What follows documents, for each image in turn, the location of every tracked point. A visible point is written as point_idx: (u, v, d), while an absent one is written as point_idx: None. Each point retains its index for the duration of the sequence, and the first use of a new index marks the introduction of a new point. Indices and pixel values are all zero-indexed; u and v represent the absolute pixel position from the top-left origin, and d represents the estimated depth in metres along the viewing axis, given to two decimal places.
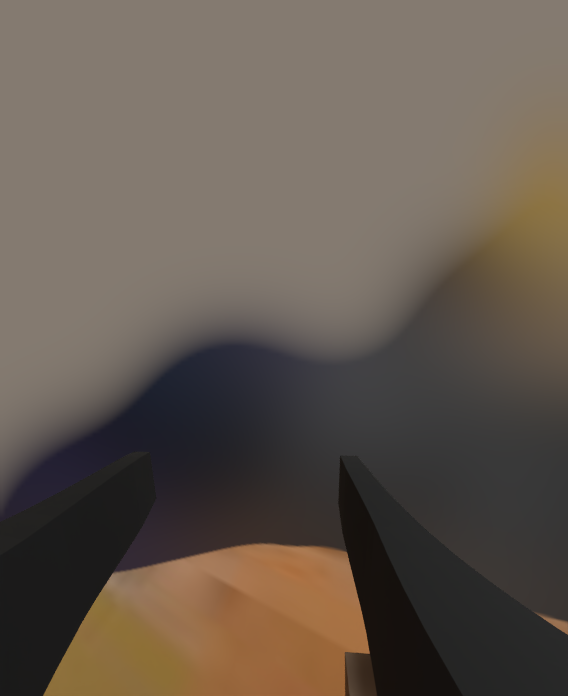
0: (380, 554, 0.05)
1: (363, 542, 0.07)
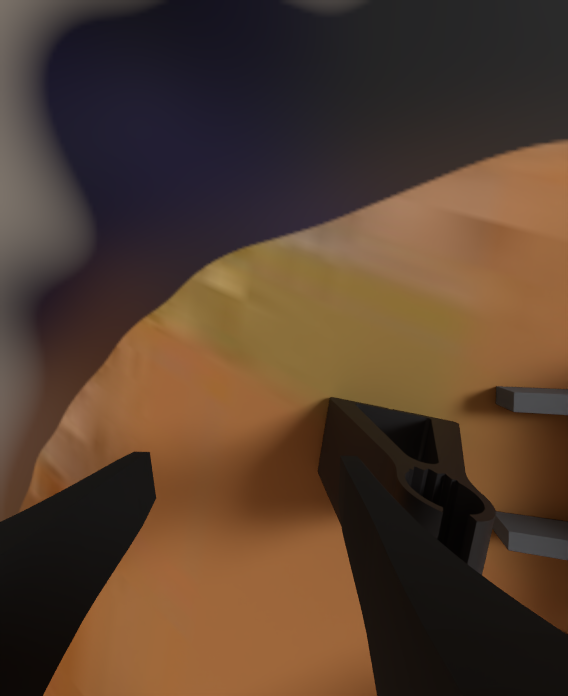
0: (380, 554, 0.05)
1: (363, 542, 0.07)
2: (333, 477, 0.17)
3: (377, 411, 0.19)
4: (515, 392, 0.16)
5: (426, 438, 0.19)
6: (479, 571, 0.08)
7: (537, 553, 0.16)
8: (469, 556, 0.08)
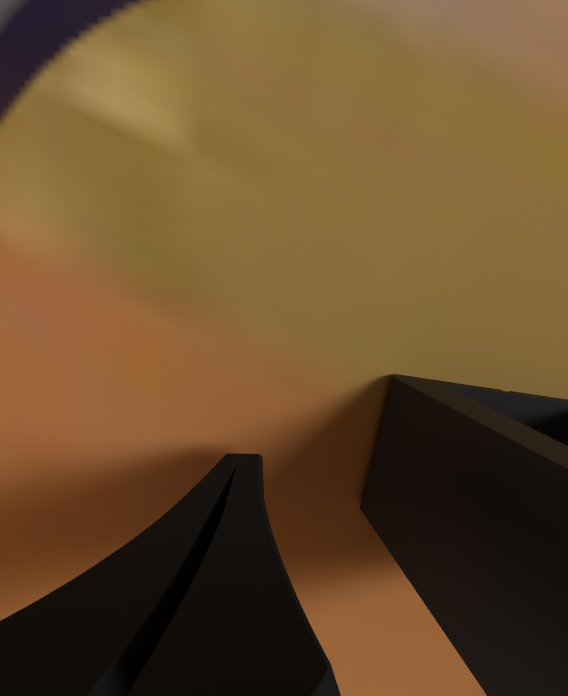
0: None
1: None
2: (433, 557, 0.08)
3: (485, 398, 0.10)
4: None
5: None
6: None
7: None
8: None
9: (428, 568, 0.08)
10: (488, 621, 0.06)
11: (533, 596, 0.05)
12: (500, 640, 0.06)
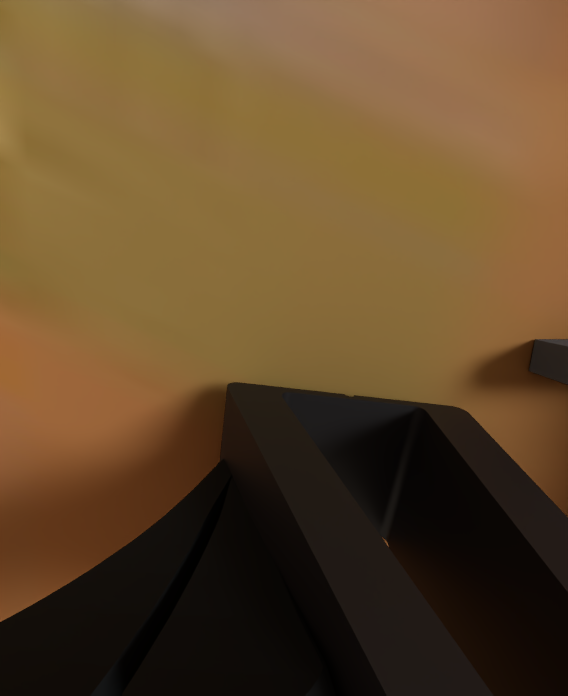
0: None
1: None
2: None
3: (325, 404, 0.09)
4: None
5: (413, 444, 0.10)
6: None
7: None
8: None
9: None
10: None
11: None
12: None
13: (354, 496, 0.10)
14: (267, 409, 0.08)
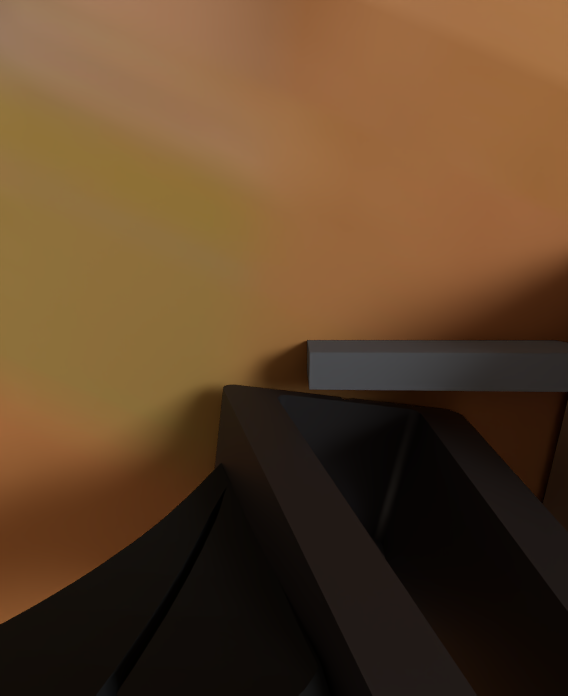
0: None
1: None
2: None
3: (322, 407, 0.09)
4: (312, 352, 0.08)
5: (408, 447, 0.10)
6: None
7: None
8: None
9: None
10: None
11: None
12: None
13: (349, 498, 0.10)
14: (263, 412, 0.08)
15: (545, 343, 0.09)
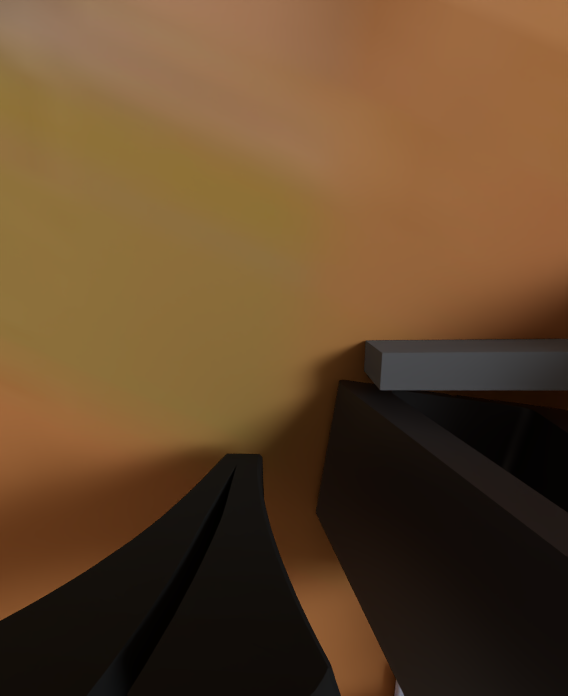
0: None
1: None
2: (366, 560, 0.08)
3: (431, 402, 0.10)
4: (384, 353, 0.08)
5: (519, 445, 0.10)
6: None
7: None
8: None
9: (363, 571, 0.08)
10: (405, 623, 0.06)
11: (436, 599, 0.06)
12: (413, 642, 0.06)
13: None
14: (389, 403, 0.08)
15: None
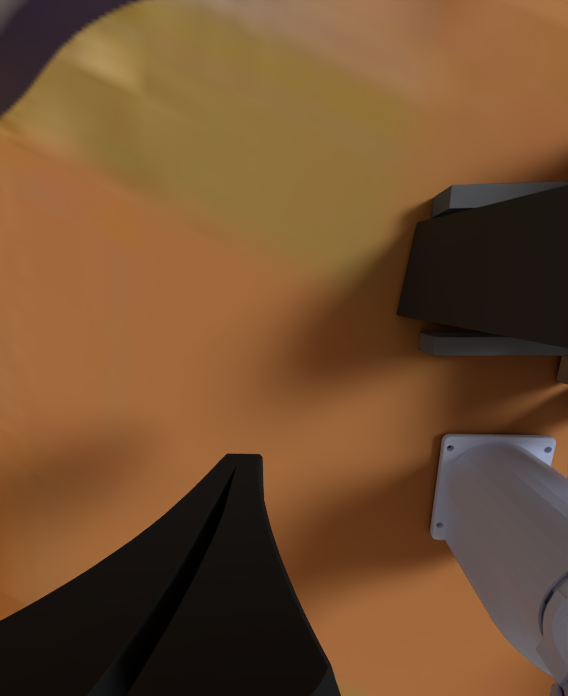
0: None
1: None
2: (443, 295, 0.15)
3: None
4: (453, 186, 0.15)
5: None
6: None
7: (456, 354, 0.17)
8: None
9: (441, 303, 0.15)
10: (470, 296, 0.13)
11: (489, 265, 0.12)
12: (475, 298, 0.13)
13: None
14: None
15: None
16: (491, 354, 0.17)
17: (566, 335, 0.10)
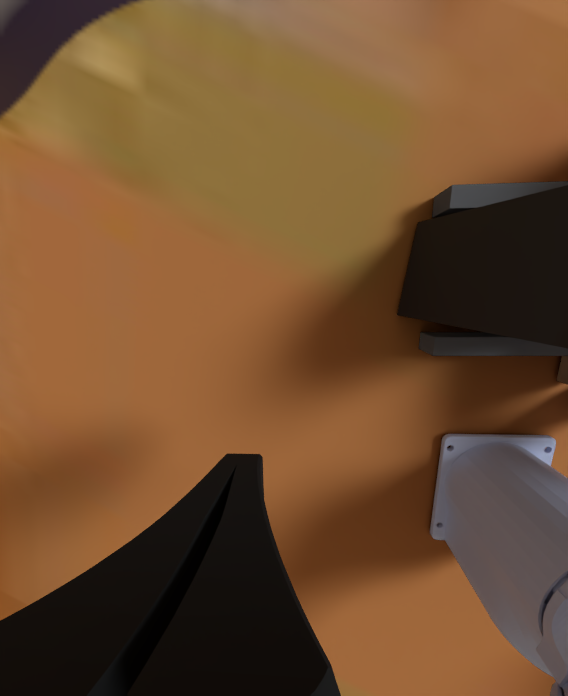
0: None
1: None
2: (443, 295, 0.15)
3: None
4: (453, 185, 0.15)
5: None
6: None
7: (457, 353, 0.17)
8: None
9: (441, 303, 0.15)
10: (471, 296, 0.13)
11: (489, 265, 0.12)
12: (476, 298, 0.13)
13: None
14: None
15: None
16: (491, 354, 0.17)
17: (566, 335, 0.10)
